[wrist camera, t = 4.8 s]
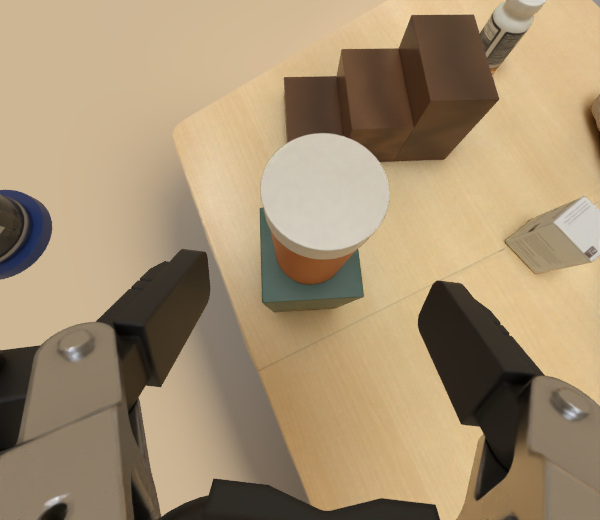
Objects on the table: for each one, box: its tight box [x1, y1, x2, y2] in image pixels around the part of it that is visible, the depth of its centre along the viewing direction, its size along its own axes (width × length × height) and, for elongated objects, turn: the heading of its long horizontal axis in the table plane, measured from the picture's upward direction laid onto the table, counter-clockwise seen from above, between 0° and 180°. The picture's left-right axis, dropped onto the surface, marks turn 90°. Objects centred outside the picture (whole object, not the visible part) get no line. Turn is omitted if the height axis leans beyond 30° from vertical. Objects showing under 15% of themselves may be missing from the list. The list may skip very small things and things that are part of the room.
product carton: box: [505, 196, 600, 274], centre depth 34 cm, size 6×6×7 cm
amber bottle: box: [260, 133, 390, 285], centre depth 16 cm, size 6×6×10 cm
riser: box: [284, 15, 499, 162], centre depth 36 cm, size 24×13×11 cm, turn 93°
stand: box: [260, 208, 364, 312], centre depth 28 cm, size 8×8×14 cm
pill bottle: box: [480, 0, 546, 73], centre depth 40 cm, size 6×6×10 cm
